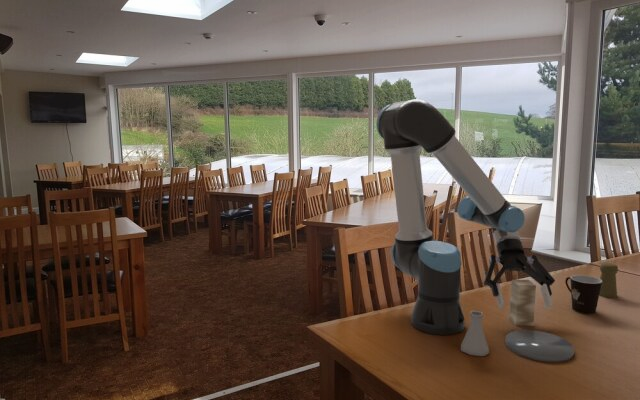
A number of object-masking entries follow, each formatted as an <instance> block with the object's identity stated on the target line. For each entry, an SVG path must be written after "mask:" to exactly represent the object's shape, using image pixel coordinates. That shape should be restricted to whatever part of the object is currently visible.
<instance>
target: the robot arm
mask: <svg viewBox="0 0 640 400" xmlns="http://www.w3.org/2000/svg"><path fill="white" fill-rule="evenodd" d="M376 131H377V133H378V134H379V136H380V137H381V138H382V139H383V144H384V150H385V152H387V153H389V155H390V161H391V170H392V179H393V180H392V181H393V189H394V197H395V206H396V215H397V224H398V231H397V232H396V233H395V235H394V242H393V243H394V244H392V247H391V251H390V255H391V260H392V262H393V264H394V265H395V266H396V267H397V268H398V269H399V270H400V271H401V272H402V273H404V274H405V275H408V276H409V277H411V278H413V279H414V280H416V281H417V298H416V300H415V304H414V305H413V306H414V307H413V310H412V312H411V315H410V323H411V325H412V327H414V329H417V330H419V331H420V332H423V333H427V334H432V335H437V336H438V335H439V336H441V335H442V336H443V335H444V336H445V335H446V336H447V335H454V334H455V335H456V334H458V333H461V332H463V331H464V330H465V326H466V324H465V323H466V319H465V315H464V312H463V309H462V305H461V301H460V291H461V269H462V268H461V267H462V258H461V256H462V255H461V251H460V249H459V248H458V247H457V246H456V245H453V244H452V243H449V242H444V241H440V240H439V241H438V240H434V234H433V231H432V230H431V229H429V228H428V226H427V216H426V206H425V198H424V197H425V196H424V195H425V194H424V185H423V175H422V166H421V155H420V151H421V149H423V150H424V151H425V152H426V153H427V154H432V155H433V156H435V158H436V159H437V160H438V162H439V163H440V164H441V165H442V166H443V167H444V169H445V170H446V171H447V172H448V173H449V175H450V176H451V178H453V179H454V181H455V182H456V183H457V184H458V185H459V186H460V188H461V189H462V190H463V192H464V193H465V194H466V195H467V196H464V197H463V198H461V200H459V203H458V205H457V215H458V216H459V218H460V219H463V220H465V221H466V222H471V223H476V224H479V225H483V226H486V227H490V228H491V231H492V234H493V238H494V243H495V245H496V251H497V254H498V256H496V255H495V254H492V255H490V258H489V260H488V262H489V266H488V270H487V271H486V274H485V278H484V281H483V285H484V286H489V289H491V292H492V296H493V297H496V301H497V305H498V308H499V309H503V307H504V306H505V301H504V297H503V292H502V288H501V284H500V283H499V281H500V279H501V277H502V276H503V274H504V273H505V272H506V270H508V271H509V272H520V271H521V272H522V273H524V274H526V275H528V276H529V277H530V278H531V279H533V280H534V281H535V282H537V283H538V284H539V285H540V291H541V294H542V297H543V302H544V304H545V308H546V309H550V308H551V307H552V306H553V301H552V298H551V296H552V295H553V292H552V289H551V286H552V285H553V284H554V283H555V282H556V280H555V278H554V277H553V276H552V275H551V274H550V273H549V271H548V270H547V269H546V268H545V267H544V265H542V263H540V261H539V259H538V258H537V255H535V254H533V255H532V256H527V255H525V250H524V246H523V242H522V241H521V236H520V232H519V231H520V230H521V229H522V227H523V226H524V224H525V213H524V211H523V210H522V209H521V208H519V207H517V206H516V205H511V204H510V202H509V201H508V200H507V199H506V198H505V197H504V196H503V194H502V193H501V192H500V191H499V190H498V188H497V186H495V184H494V183H493V181H491V179H490V178H489V177H488V176H487V174H486V173H485V172H484V171H483V169H482V168H481V167H480V166H479V165H478V163H477V162H476V161H475V159H474V158H473V156H472V155H471V154H470V153H469V152H468V151H467V149H466V148H465V146H464V145H463V144H462V143H461V142H460V140H459V139H458V137H456V129H455V128H454V127H453V125H452V124H451V123H450V122H449V120H448V119H447V118H446V117H445V116H444V114H443V113H442V112H440V110H438V109H437V108H436V107H435V106H433V104H430V103H429V102H427V101H426V100H423V99H417V98H416V99H408V100H404V101H395V102H392V103H390V104H387V105H386V106H384V107H383V108H382V109H381V111H379V113H378V115H377V118H376ZM497 263H499V264H500V265H501V266H502V267H501V268H500V270H499V271H498V272H497V274H496V275H495V277H494V278H493V279H491V278H492V276H493V273H494V268H495V266H496V265H497Z"/></svg>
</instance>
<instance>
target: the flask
mask: <svg viewBox="0 0 640 400" xmlns="http://www.w3.org/2000/svg"><path fill="white" fill-rule="evenodd" d="M469 316H470V321H469V325H468V329H467V330H466V334H465V336H464V338H463V340H462V342H461V344H460V351H461V352H463V353H465V354H468V355H470V356H477V357H485V356H486V355H488V354H490V349H489V346H488V341H487V339H486V337H485V333H484V330H483V324H482V321H483V318H482V317H483V316H484V313H483V311H478V310H471V311H469Z"/></svg>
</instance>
